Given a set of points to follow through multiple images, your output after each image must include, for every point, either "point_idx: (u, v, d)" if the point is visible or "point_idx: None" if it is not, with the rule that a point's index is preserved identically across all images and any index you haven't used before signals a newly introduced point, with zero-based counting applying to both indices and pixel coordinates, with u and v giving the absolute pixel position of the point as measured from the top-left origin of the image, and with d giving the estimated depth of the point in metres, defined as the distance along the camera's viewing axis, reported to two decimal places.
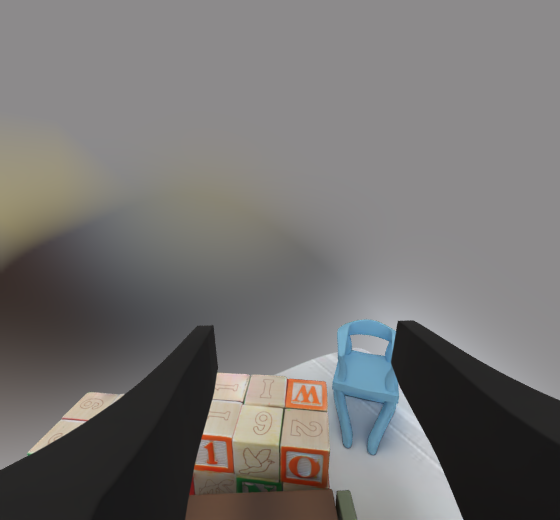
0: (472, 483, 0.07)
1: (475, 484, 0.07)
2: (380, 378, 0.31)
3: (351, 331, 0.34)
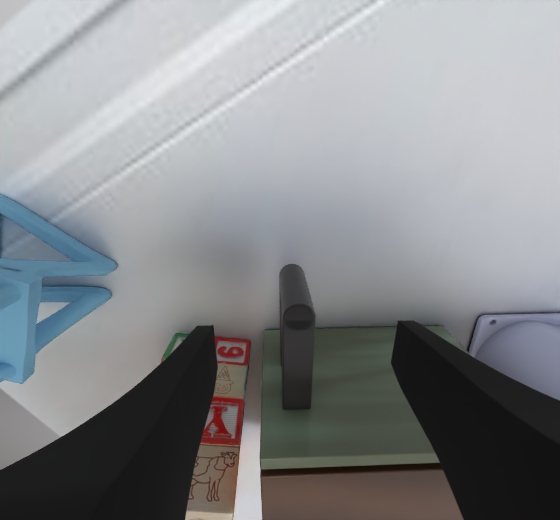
0: (472, 483, 0.07)
1: (475, 484, 0.07)
2: None
3: None
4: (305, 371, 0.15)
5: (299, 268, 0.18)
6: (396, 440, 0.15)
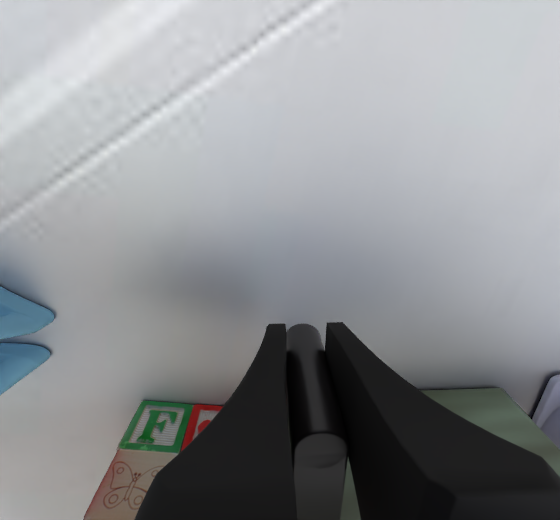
0: (365, 487, 0.07)
1: (367, 488, 0.07)
2: None
3: None
4: None
5: (314, 331, 0.12)
6: None
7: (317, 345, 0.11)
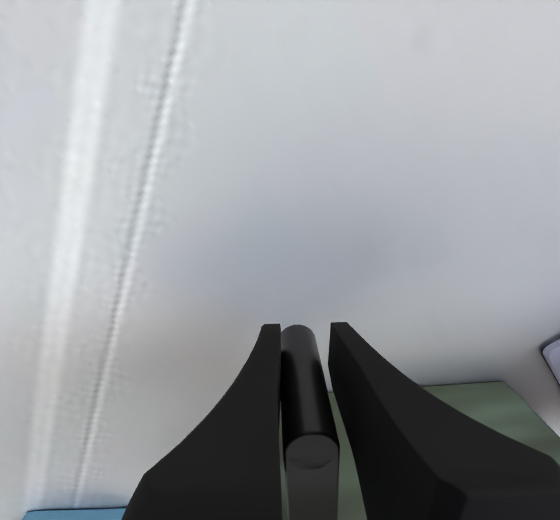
0: (372, 487, 0.07)
1: (373, 487, 0.07)
2: None
3: None
4: None
5: (307, 332, 0.12)
6: None
7: (310, 346, 0.11)
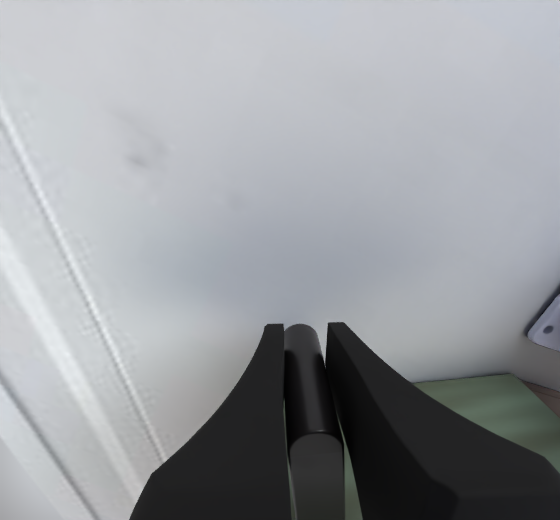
0: (367, 487, 0.07)
1: (369, 488, 0.07)
2: None
3: None
4: (333, 519, 0.09)
5: (309, 331, 0.12)
6: None
7: (312, 344, 0.11)
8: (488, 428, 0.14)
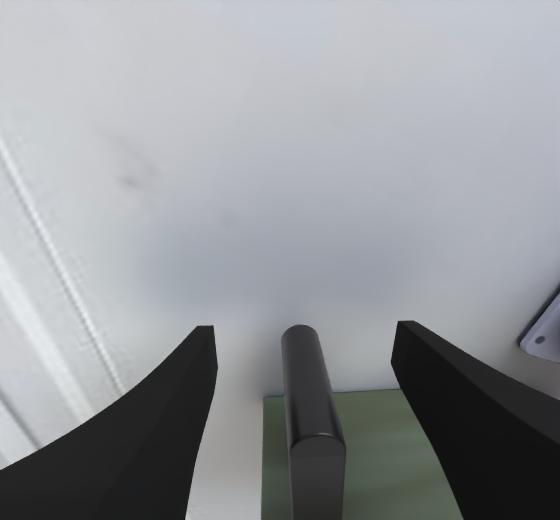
0: (472, 483, 0.07)
1: (475, 484, 0.07)
2: None
3: None
4: None
5: (311, 332, 0.12)
6: None
7: (314, 346, 0.11)
8: None
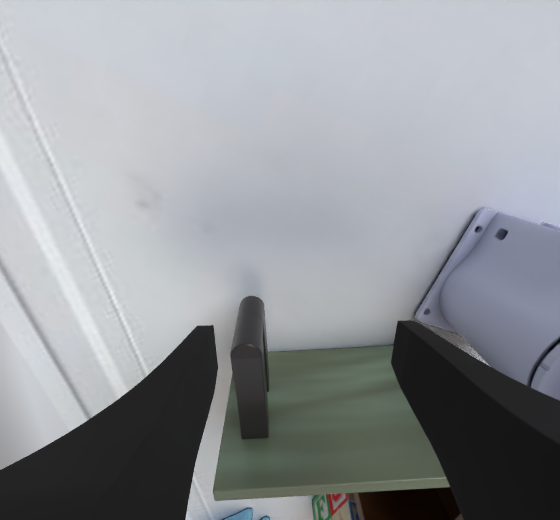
0: (472, 483, 0.07)
1: (475, 483, 0.07)
2: None
3: None
4: (258, 404, 0.16)
5: (257, 300, 0.19)
6: (345, 469, 0.15)
7: (257, 307, 0.18)
8: (380, 375, 0.21)
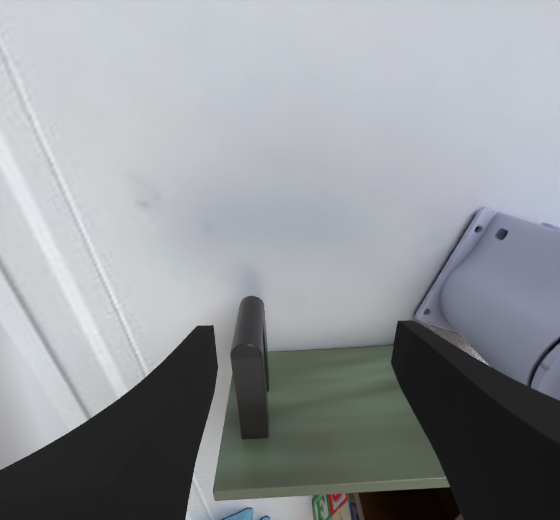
0: (472, 483, 0.07)
1: (475, 483, 0.07)
2: None
3: None
4: (258, 404, 0.16)
5: (257, 300, 0.19)
6: (345, 469, 0.15)
7: (257, 307, 0.18)
8: (380, 375, 0.21)
